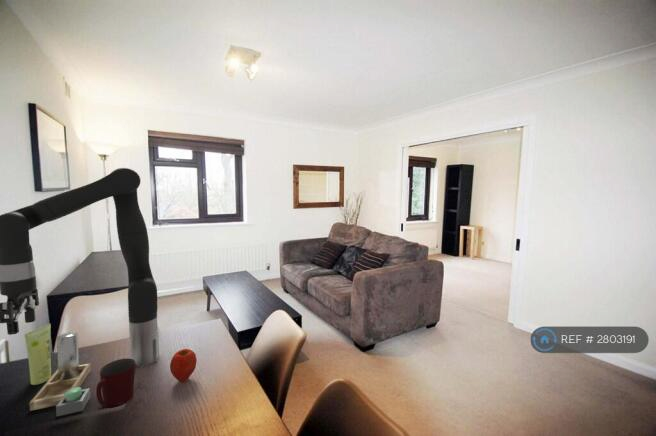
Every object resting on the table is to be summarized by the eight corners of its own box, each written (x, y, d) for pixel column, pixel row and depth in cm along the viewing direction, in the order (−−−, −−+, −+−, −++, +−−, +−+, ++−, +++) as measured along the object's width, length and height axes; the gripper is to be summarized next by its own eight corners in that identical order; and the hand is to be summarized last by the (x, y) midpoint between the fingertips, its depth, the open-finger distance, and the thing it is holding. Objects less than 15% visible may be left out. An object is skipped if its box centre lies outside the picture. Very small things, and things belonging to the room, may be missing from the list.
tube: (48, 385, 95) (45, 329, 94) (27, 390, 92) (24, 333, 91) (53, 376, 100) (50, 323, 98) (33, 381, 97) (30, 326, 95)
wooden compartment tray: (91, 372, 102) (90, 363, 102) (70, 405, 86) (69, 394, 86) (58, 378, 98) (57, 369, 98) (30, 413, 82) (29, 402, 82)
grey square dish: (90, 400, 88) (89, 388, 88) (83, 413, 83) (82, 400, 83) (66, 405, 86) (65, 393, 86) (56, 419, 81) (56, 406, 80)
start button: (83, 395, 87) (83, 386, 86) (79, 403, 83) (78, 393, 83) (68, 399, 85) (68, 389, 85) (63, 407, 82) (63, 396, 82)
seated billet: (81, 374, 99) (80, 330, 98) (75, 383, 95) (73, 337, 94) (62, 377, 97) (60, 333, 96) (55, 387, 93) (53, 340, 92)
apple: (201, 380, 99) (200, 351, 98) (175, 392, 93) (174, 361, 92) (191, 370, 105) (191, 342, 104) (166, 380, 99) (166, 351, 98)
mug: (113, 418, 81) (112, 382, 81) (84, 417, 82) (82, 381, 81) (142, 390, 93) (141, 358, 93) (116, 389, 94) (115, 357, 93)
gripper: (19, 282, 81) (24, 335, 82) (46, 269, 94) (50, 316, 95) (-17, 285, 78) (-11, 341, 79) (16, 272, 91) (20, 320, 92)
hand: (22, 327), depth 87 cm, fingers open, 8 cm apart
